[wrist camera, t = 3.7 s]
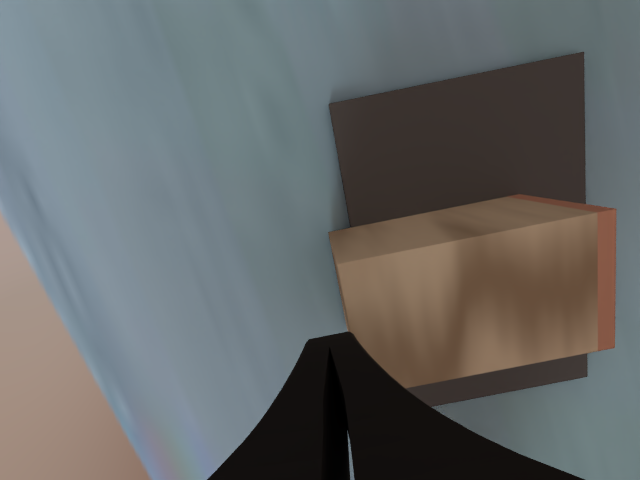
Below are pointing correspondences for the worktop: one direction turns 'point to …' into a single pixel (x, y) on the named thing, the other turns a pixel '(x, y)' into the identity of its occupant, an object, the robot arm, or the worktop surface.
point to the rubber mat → (468, 167)
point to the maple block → (479, 286)
